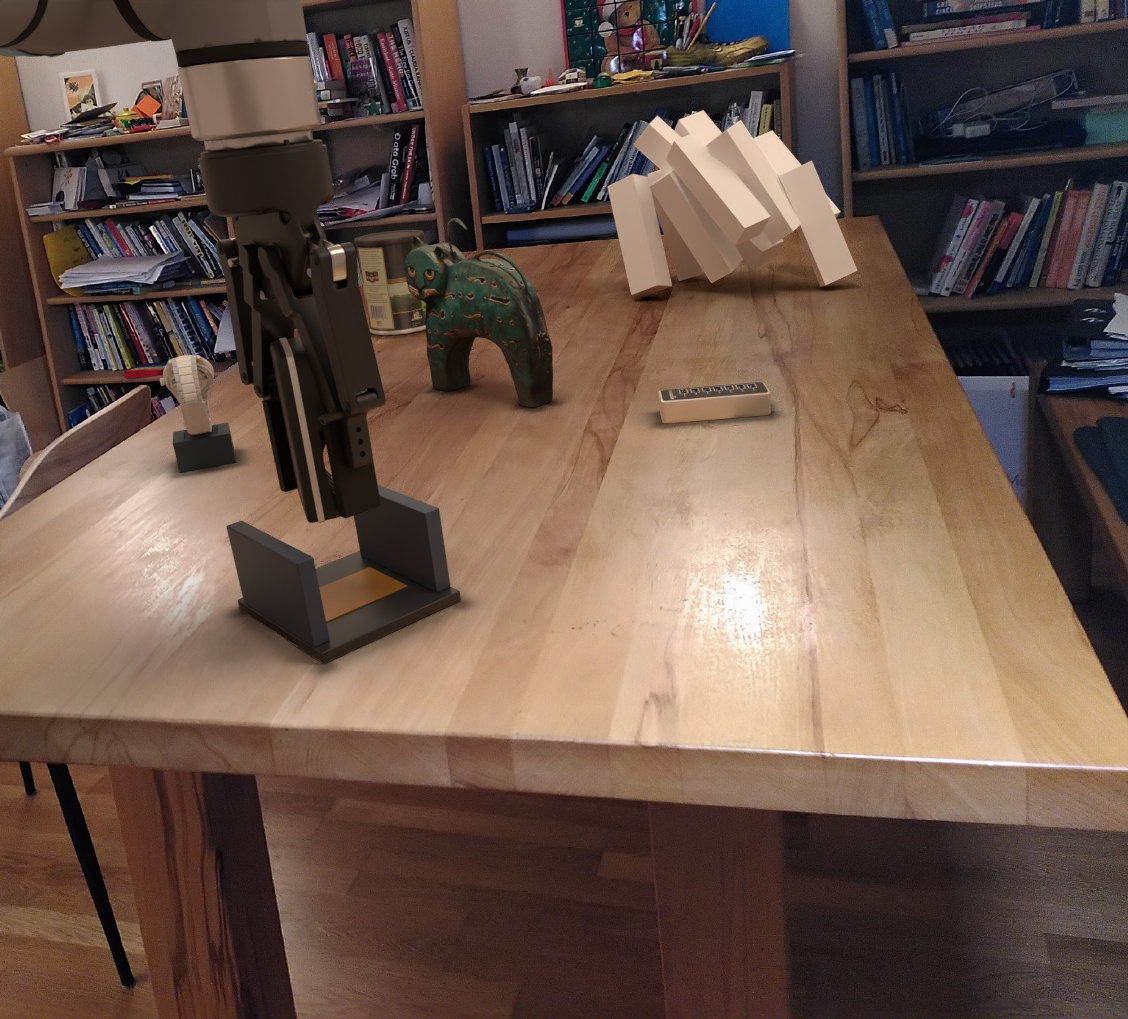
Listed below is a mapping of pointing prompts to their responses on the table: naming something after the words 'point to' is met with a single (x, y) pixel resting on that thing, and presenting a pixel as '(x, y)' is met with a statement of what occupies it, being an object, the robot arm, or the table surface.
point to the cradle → (347, 579)
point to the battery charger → (304, 428)
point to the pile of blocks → (721, 206)
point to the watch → (197, 415)
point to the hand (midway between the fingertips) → (329, 497)
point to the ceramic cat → (480, 317)
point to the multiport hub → (714, 402)
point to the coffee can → (389, 282)
